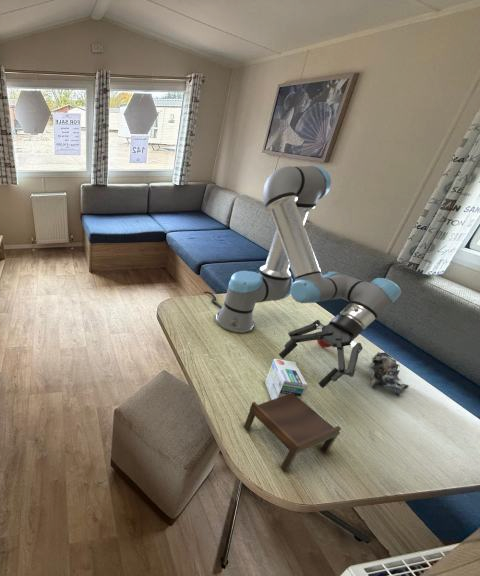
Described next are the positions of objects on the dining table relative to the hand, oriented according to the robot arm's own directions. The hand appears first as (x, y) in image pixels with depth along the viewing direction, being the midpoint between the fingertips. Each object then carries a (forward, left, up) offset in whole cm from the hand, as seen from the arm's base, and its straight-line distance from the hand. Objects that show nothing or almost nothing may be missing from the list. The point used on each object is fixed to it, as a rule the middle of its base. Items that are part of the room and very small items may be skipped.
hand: (299, 370), depth 96 cm
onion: (-13, +34, -10) cm, 38 cm away
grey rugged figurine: (+7, +36, -10) cm, 38 cm away
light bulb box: (0, -4, -10) cm, 11 cm away
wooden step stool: (+12, -16, -10) cm, 22 cm away
